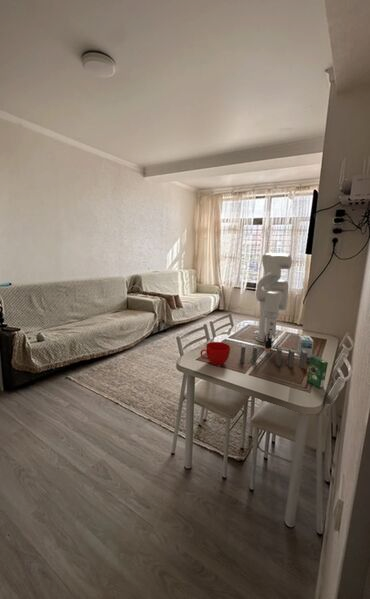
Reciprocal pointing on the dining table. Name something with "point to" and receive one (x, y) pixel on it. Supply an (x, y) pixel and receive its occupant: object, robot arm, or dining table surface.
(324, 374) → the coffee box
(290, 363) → the domino
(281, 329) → the dining table surface
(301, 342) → the light bulb box
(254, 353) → the domino
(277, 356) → the domino
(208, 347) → the ceramic cup
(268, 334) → the domino
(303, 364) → the domino
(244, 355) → the domino
